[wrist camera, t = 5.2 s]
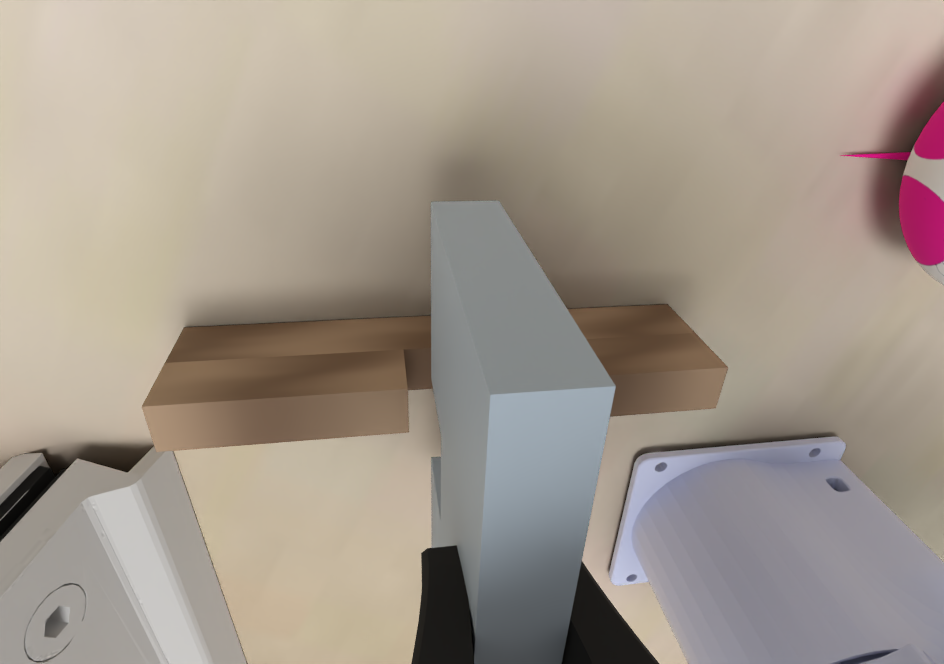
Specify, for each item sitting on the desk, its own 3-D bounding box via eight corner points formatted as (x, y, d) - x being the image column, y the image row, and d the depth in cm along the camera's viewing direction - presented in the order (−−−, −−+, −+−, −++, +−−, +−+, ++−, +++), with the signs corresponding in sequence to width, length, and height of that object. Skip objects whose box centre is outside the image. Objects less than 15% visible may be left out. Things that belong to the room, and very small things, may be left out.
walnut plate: (667, 304, 20) (728, 367, 17) (659, 340, 21) (715, 408, 18) (184, 327, 18) (141, 406, 15) (194, 367, 19) (156, 451, 15)
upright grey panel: (498, 200, 13) (615, 385, 7) (477, 561, 19) (529, 825, 13) (430, 201, 13) (490, 394, 7) (431, 566, 19) (462, 838, 13)
